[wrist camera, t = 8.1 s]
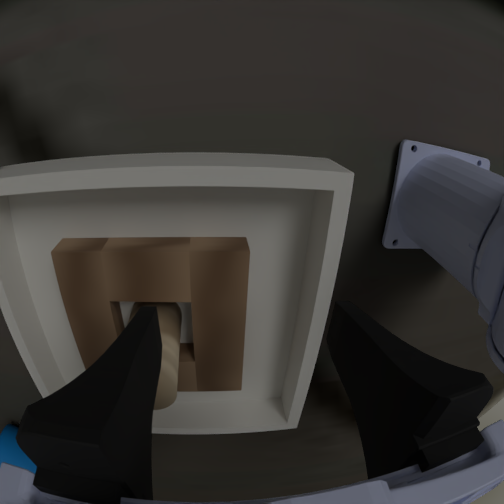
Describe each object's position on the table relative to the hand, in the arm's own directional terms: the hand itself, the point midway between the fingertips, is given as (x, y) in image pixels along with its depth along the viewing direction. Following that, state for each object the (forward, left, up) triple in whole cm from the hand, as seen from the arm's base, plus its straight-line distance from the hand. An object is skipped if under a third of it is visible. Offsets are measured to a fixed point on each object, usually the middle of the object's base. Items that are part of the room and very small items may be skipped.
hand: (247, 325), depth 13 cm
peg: (+5, +6, -8) cm, 11 cm away
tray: (+5, +6, -9) cm, 12 cm away
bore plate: (+5, +6, -8) cm, 11 cm away
